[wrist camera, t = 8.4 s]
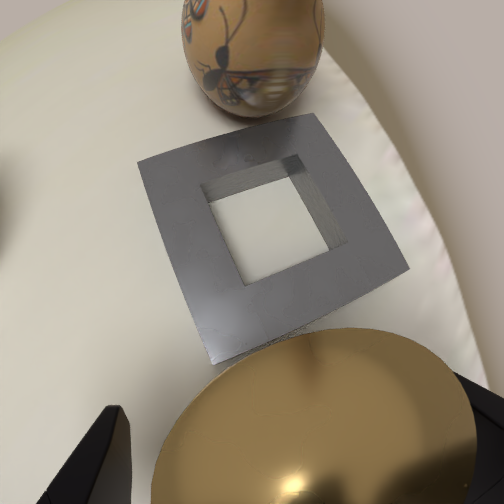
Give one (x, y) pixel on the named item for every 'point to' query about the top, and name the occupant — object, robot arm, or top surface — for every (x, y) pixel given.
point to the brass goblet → (324, 427)
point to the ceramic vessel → (253, 51)
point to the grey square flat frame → (287, 281)
